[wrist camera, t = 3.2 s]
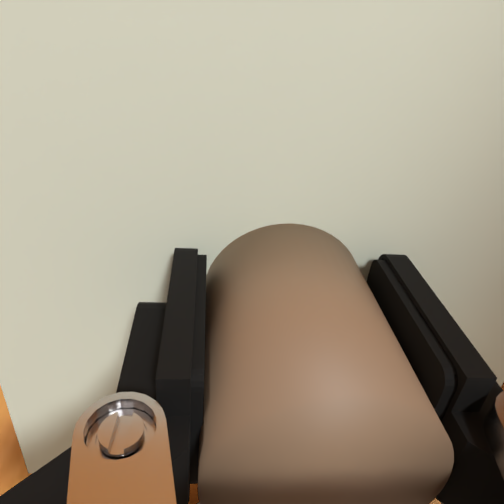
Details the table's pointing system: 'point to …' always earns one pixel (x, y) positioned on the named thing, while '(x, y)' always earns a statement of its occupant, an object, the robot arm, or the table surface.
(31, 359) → the lid
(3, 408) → the table surface
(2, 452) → the table surface
